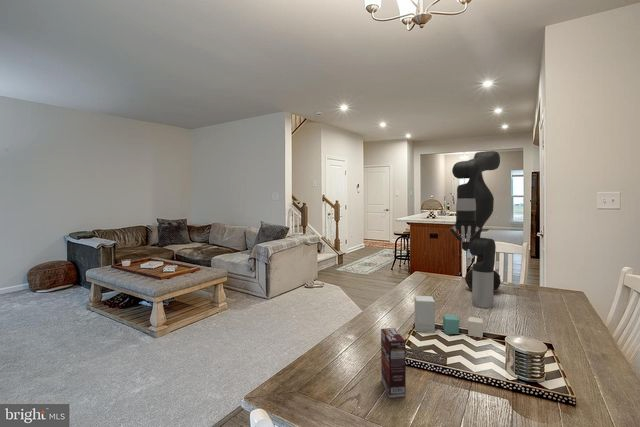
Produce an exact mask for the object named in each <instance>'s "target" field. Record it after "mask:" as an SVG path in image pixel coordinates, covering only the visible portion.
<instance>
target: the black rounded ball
mask: <svg viewBox="0 0 640 427" xmlns="http://www.w3.org/2000/svg"><path fill="white" fill-rule="evenodd" d="M483 259H484V257H480V256H476V261H475V263H479V262H482V261H483ZM464 280H465V283H466V285H467V287H468V288H469V289H470V290H472V283H473V268H472V269H470V270H468V271H467V272H466V273H465V276H464ZM501 282H502V281H501V275H500V274H499V273H498V272H497V271H496V270H494V281H493V293H494V292H495V291H497V290H498V289H499V288H500V286H501Z"/></svg>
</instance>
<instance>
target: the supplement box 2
mask: <svg viewBox="0 0 640 427" xmlns="http://www.w3.org/2000/svg"><path fill="white" fill-rule="evenodd" d="M414 328H415V332H418V333H419V332H421V333H432V334H433V333H435V332H436V330H435V329H436V301H435V299H434V296H430V295H429V296H428V295H414Z"/></svg>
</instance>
